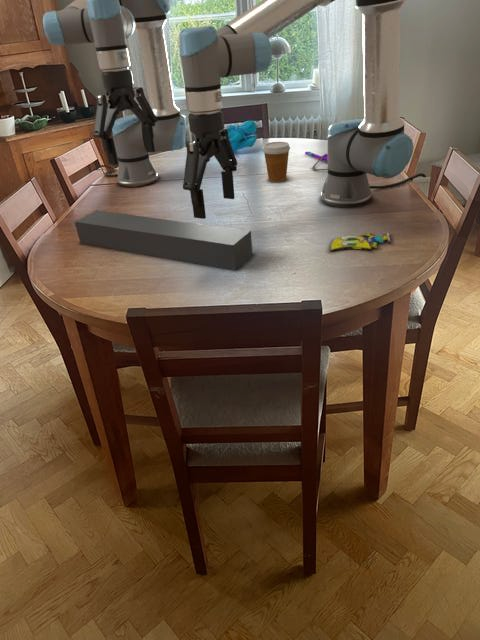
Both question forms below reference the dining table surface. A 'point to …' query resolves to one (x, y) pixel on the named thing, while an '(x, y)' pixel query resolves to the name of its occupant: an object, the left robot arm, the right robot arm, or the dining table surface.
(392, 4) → the right robot arm
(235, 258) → the thick board
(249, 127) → the toy
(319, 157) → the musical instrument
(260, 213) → the dining table surface
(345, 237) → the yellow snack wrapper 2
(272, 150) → the disposable coffee cup
